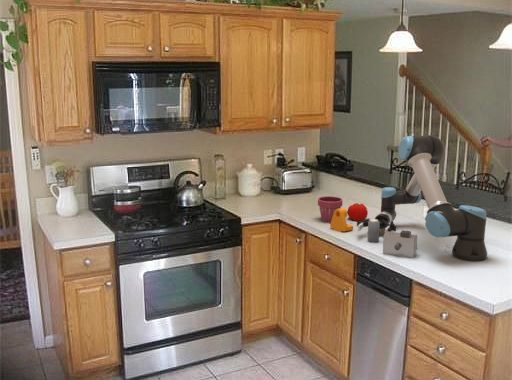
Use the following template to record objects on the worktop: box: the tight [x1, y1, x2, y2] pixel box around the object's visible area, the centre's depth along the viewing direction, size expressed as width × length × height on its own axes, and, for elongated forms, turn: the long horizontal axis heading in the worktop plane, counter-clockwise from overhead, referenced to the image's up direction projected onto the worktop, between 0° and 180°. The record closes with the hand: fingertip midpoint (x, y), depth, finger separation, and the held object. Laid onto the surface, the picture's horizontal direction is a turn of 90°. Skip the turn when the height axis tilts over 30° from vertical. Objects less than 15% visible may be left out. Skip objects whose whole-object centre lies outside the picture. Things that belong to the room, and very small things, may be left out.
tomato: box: [347, 202, 369, 222], centre depth 308 cm, size 11×12×9 cm
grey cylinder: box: [367, 218, 380, 243], centre depth 267 cm, size 6×6×11 cm
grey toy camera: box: [382, 229, 418, 259], centre depth 251 cm, size 14×20×11 cm
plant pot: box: [317, 195, 343, 223], centre depth 306 cm, size 14×14×13 cm
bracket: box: [329, 207, 354, 232], centre depth 287 cm, size 11×7×12 cm, turn 37°
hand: (371, 230), depth 264 cm, fingers open, 13 cm apart
